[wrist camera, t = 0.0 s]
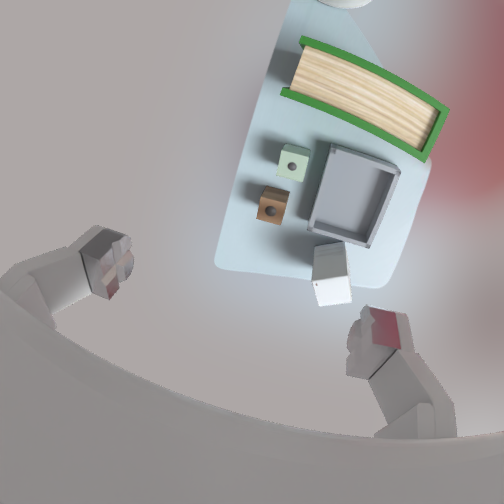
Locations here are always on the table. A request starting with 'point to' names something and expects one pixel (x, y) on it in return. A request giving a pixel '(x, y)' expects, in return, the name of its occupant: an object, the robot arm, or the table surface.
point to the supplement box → (331, 274)
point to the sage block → (293, 162)
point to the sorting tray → (352, 196)
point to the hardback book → (367, 97)
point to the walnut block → (272, 205)
